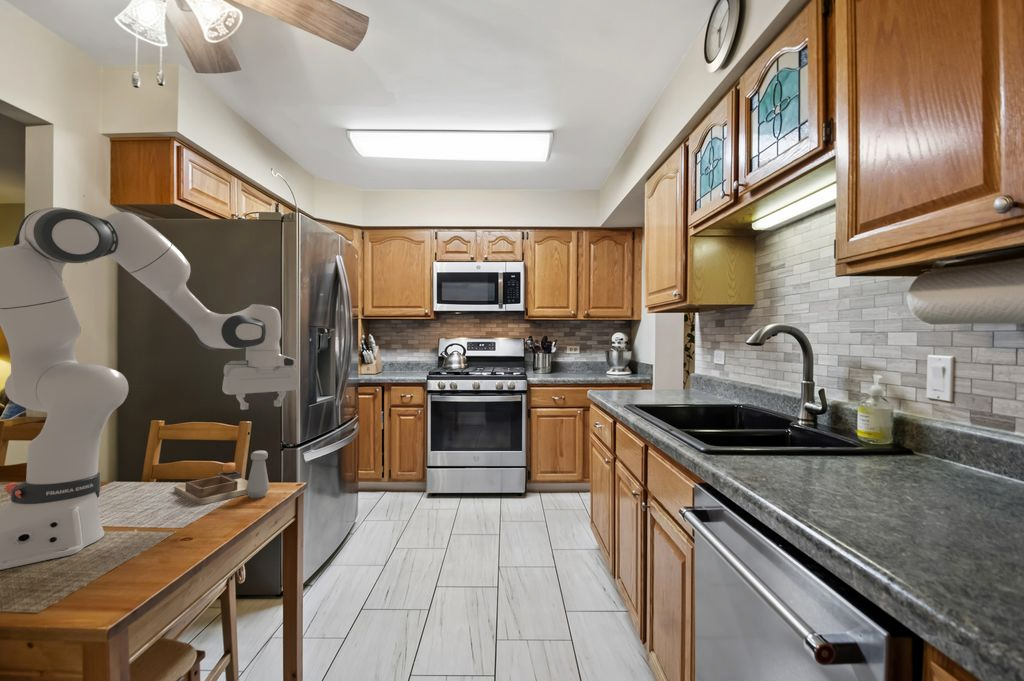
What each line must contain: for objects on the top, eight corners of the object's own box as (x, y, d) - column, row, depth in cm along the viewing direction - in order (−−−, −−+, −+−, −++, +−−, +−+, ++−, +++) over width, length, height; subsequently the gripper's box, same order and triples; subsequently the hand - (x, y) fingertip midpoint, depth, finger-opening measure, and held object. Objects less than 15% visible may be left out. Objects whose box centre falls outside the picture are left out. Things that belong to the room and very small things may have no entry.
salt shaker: (251, 501, 127) (253, 454, 127) (242, 496, 130) (244, 451, 130) (272, 496, 131) (274, 451, 132) (263, 491, 135) (265, 448, 135)
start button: (225, 473, 140) (226, 465, 140) (221, 471, 141) (221, 463, 141) (236, 471, 142) (237, 463, 142) (232, 469, 144) (232, 462, 144)
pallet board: (200, 505, 122) (201, 490, 122) (174, 491, 132) (174, 477, 132) (261, 490, 135) (261, 477, 135) (232, 479, 146) (233, 466, 146)
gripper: (229, 361, 121) (227, 412, 121) (302, 360, 138) (300, 405, 138) (218, 360, 124) (217, 410, 124) (290, 359, 141) (289, 403, 141)
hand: (261, 407), depth 131 cm, fingers open, 8 cm apart
